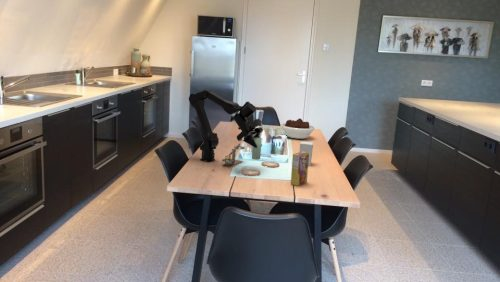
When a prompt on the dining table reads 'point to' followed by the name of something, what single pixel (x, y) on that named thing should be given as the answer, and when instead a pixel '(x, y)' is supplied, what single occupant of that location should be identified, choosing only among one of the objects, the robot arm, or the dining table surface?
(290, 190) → the dining table surface
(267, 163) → the dish
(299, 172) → the candy box
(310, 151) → the supplement box
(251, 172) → the dish
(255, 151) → the grey green cylinder
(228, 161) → the balance
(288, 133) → the bowl with brown lumps
